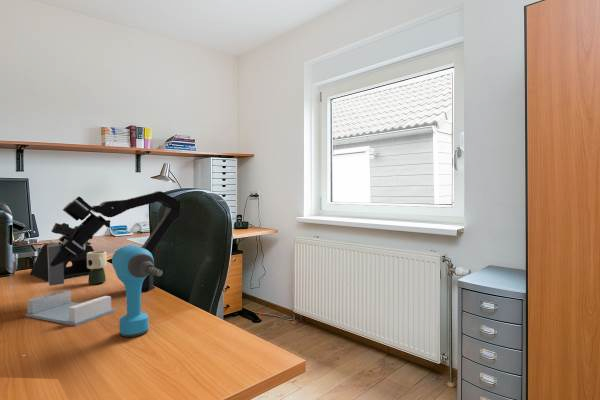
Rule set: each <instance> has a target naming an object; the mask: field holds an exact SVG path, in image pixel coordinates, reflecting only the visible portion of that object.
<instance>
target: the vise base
mask: <svg viewBox="0 0 600 400" xmlns="http://www.w3.org/2000/svg"><path fill="white" fill-rule="evenodd" d="M115 312H116V309H115V308H112V296H109V295H104V296H99V297H97V298H94V299H90V300H87V301H84V302H73V301H71V302H70V303H67V304H63V305H60V306H57V307H53V308H50V309H47V310H44V311H40V312H37V313H34V314H31V313H27V312H25V317H28V318H33V319H37V320H38V319H39V320H42V321H47V322H54V323H58V324H63V325H68V326H74V327H78V326H80V325H82V324H85V323H88V322H91V321H93V320H95V319H98V318H101V317H103V316H106V315H108V314H113V313H115Z"/></svg>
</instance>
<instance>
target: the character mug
mask: <svg viewBox="0 0 600 400" xmlns="http://www.w3.org/2000/svg"><path fill="white" fill-rule="evenodd" d="M107 263H108V262H107V251H105V250H97V251H96V250H94V252H88V253H87V268H88V269H91V270H90V273H89V275H88V282H87V283H88V284H90V285H95V284H97V285H99V284H100V283H104V282H107V278H106V273H105V269H104V268H106V267H107V265H108V264H107Z"/></svg>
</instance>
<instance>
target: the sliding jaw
mask: <svg viewBox="0 0 600 400" xmlns="http://www.w3.org/2000/svg"><path fill="white" fill-rule="evenodd" d="M71 293H72V292H71V290H70V289H63V290H59V291H56V292H55V291H54V292H51V293H48V294H44V295H41V296H37V297H33V298H30V299H26V307H27V308H26V309H27V310H26V311H27V312H26V313H31V314H34V313H37V312H40V311H44V310H47V309H50V308H53V307H57V306H60V305H63V304H67V303H70V302H72V298H71V297H72V296H71Z"/></svg>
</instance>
